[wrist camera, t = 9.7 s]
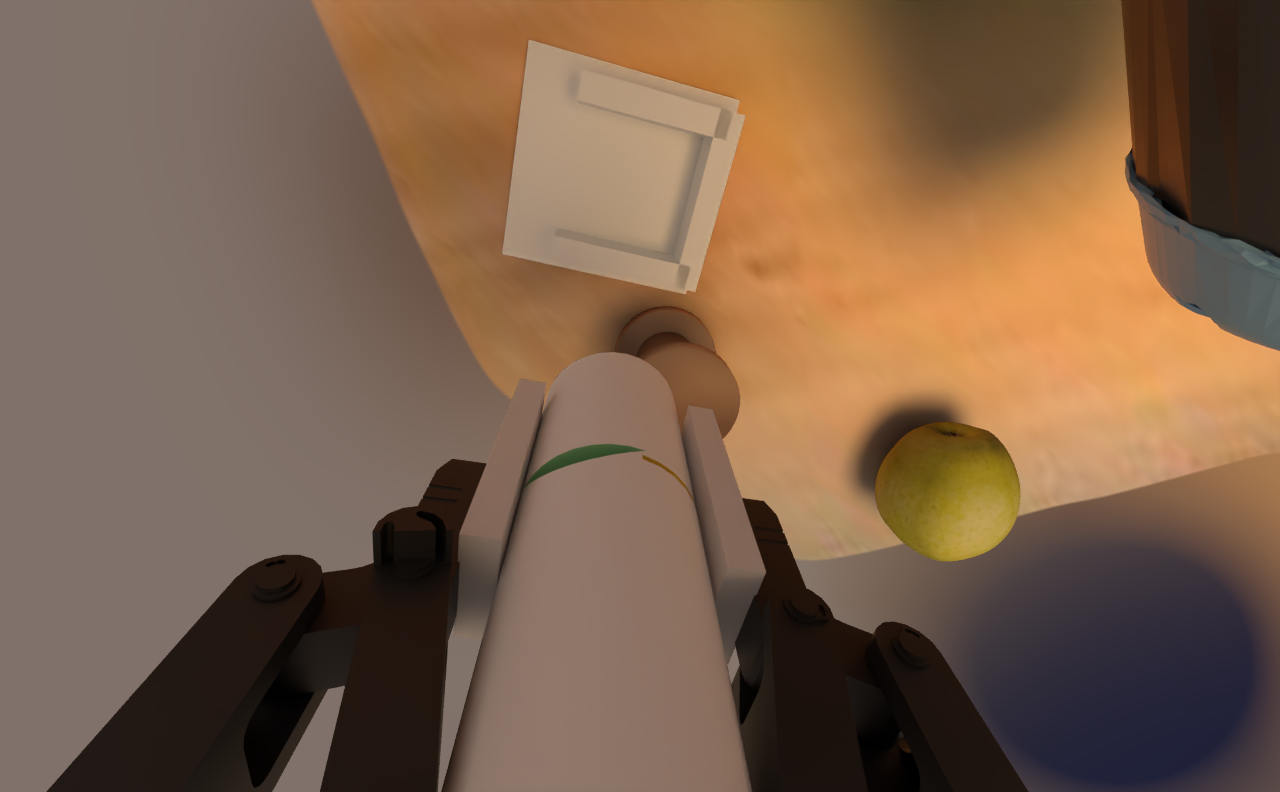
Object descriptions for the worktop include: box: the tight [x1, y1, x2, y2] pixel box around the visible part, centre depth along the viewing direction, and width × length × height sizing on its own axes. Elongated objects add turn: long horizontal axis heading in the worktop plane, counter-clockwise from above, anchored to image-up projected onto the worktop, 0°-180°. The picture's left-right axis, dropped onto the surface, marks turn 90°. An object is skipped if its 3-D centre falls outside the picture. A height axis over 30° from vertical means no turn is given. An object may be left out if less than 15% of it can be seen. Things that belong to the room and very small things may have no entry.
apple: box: [875, 422, 1020, 561], centre depth 33 cm, size 8×9×8 cm
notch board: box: [502, 40, 746, 294], centre depth 26 cm, size 10×10×3 cm
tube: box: [441, 352, 752, 792], centre depth 11 cm, size 4×4×15 cm
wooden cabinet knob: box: [615, 307, 740, 439], centre depth 29 cm, size 6×6×7 cm
